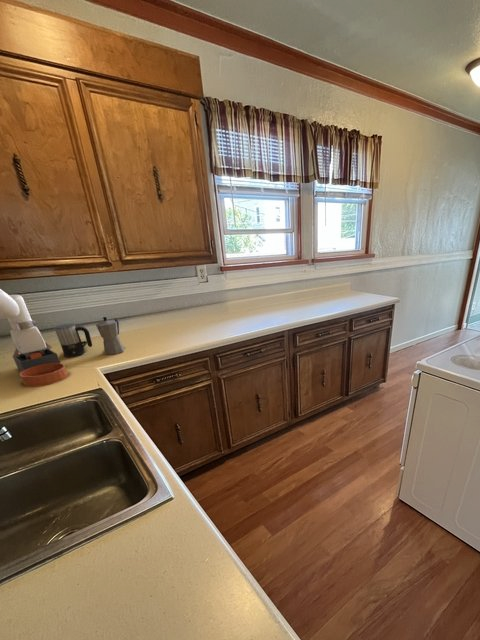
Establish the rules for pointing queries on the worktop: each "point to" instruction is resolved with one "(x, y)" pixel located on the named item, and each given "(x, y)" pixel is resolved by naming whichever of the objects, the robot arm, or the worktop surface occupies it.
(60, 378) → the bowl
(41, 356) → the block
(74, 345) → the milk frother
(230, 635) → the worktop surface
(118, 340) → the coffeepot
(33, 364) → the bin
